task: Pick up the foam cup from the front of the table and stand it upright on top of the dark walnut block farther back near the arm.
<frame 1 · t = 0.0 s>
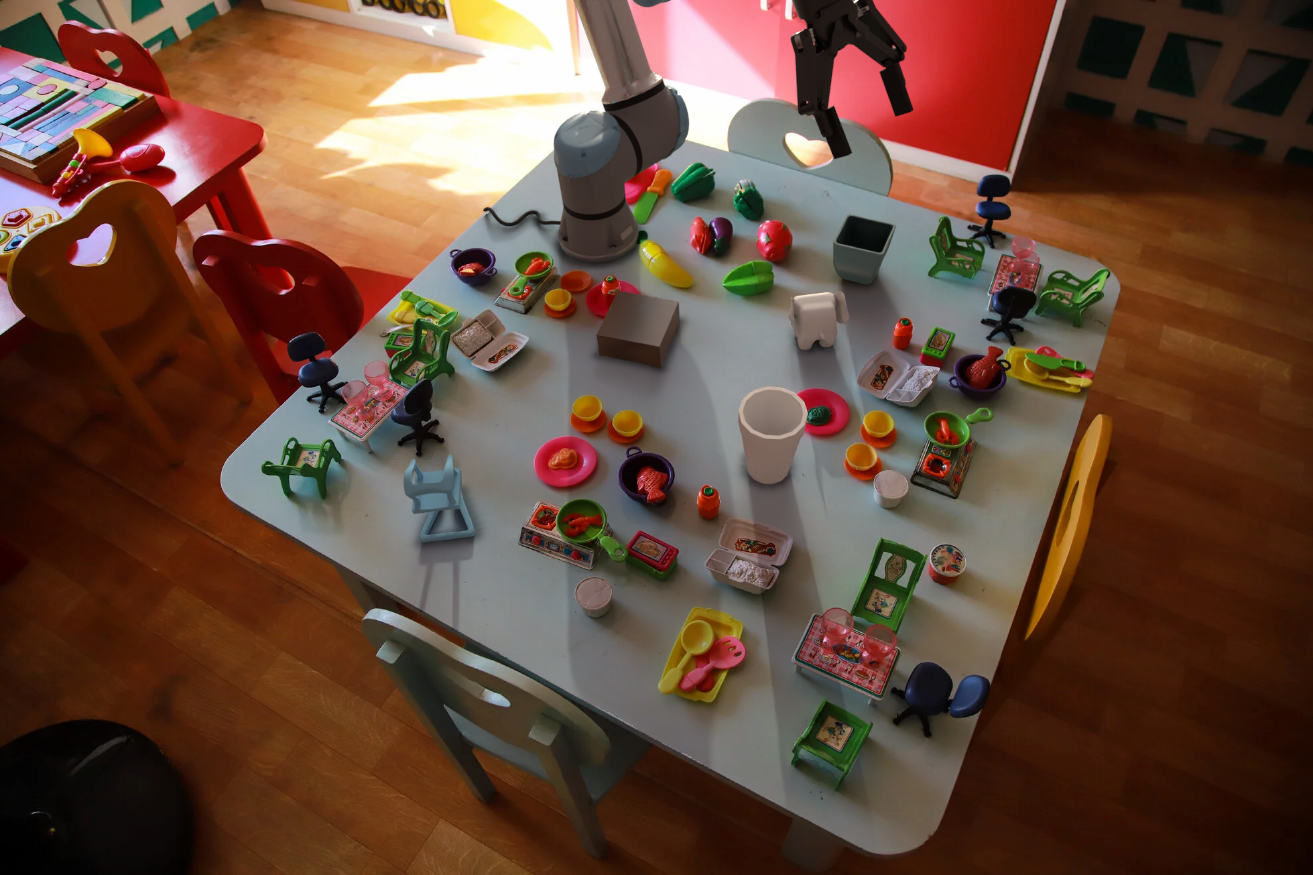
hand: (874, 134, 112), 36 cm above the table, tool tilted 35°, fingers open, 13 cm apart
foam cup: (767, 467, 123), on the table
elephant figurine: (811, 334, 140), on the table
flower pot: (857, 274, 148), on the table
block: (640, 338, 141), on the table
chair: (449, 516, 121), on the table
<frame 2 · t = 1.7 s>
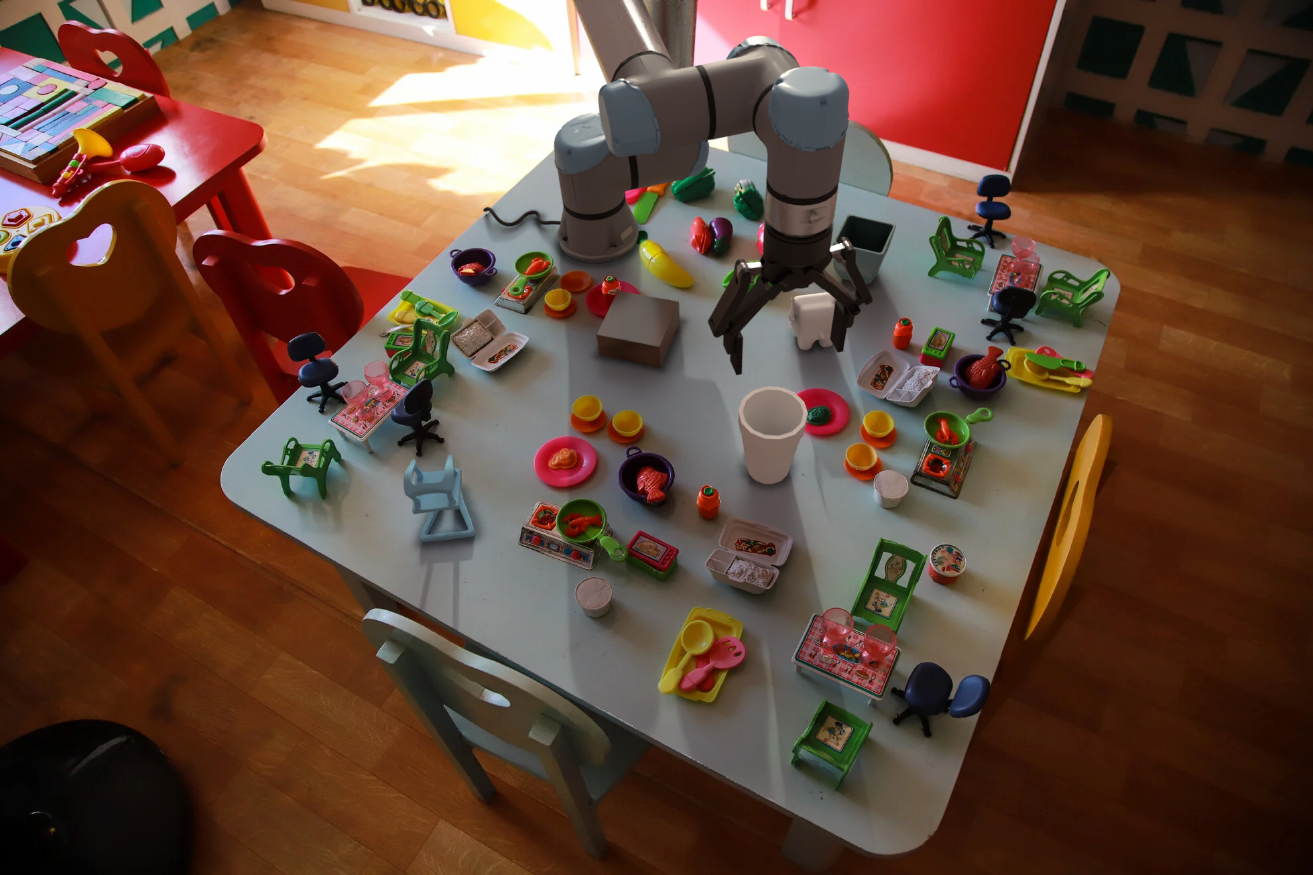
hand: (786, 356, 106), 23 cm above the table, tool pointing down, fingers open, 13 cm apart
nothing on the table moved.
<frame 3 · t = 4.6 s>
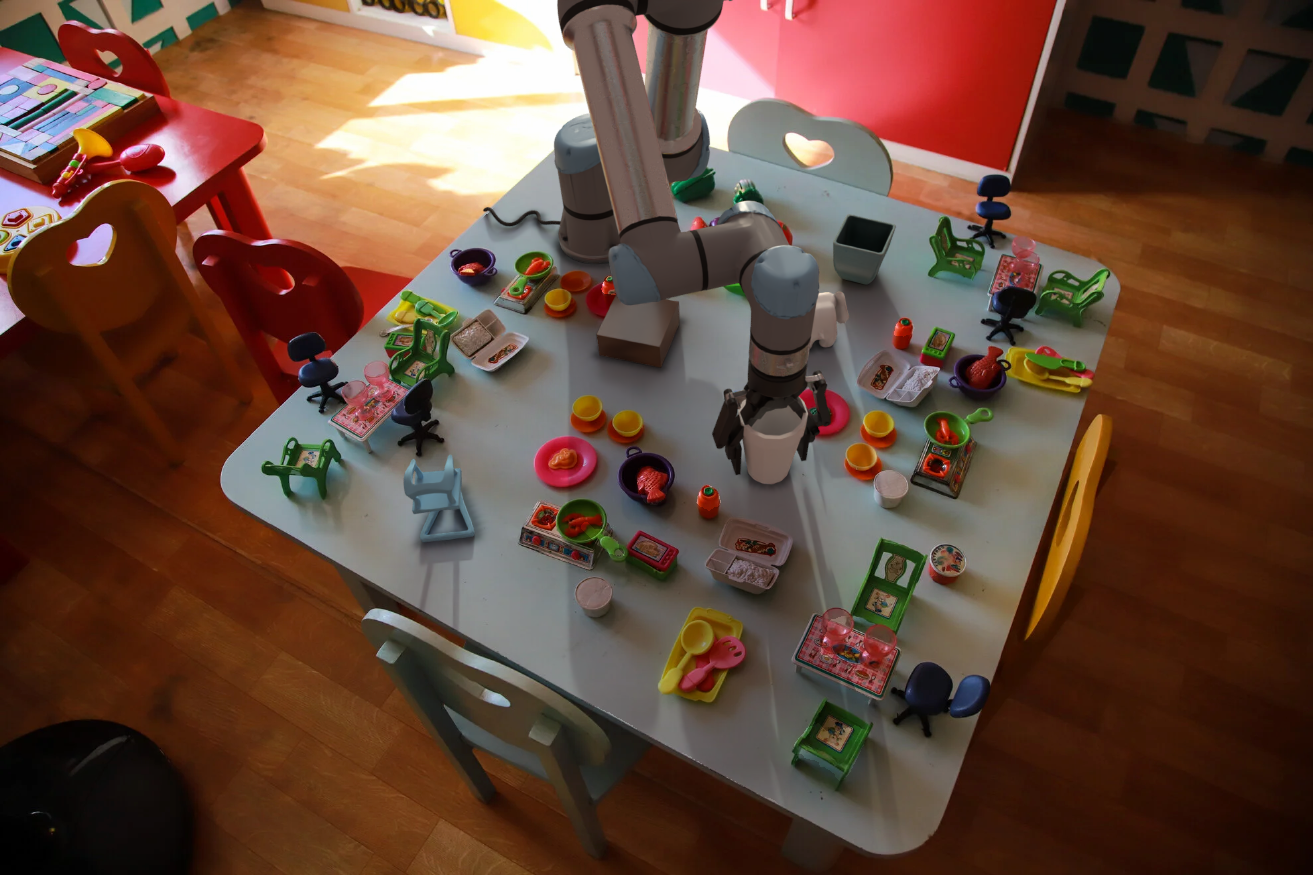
hand: (768, 460, 122), 2 cm above the table, tool pointing down, fingers closed on foam cup, 9 cm apart
foam cup: (767, 467, 123), on the table, touching gripper
everything else where it was.
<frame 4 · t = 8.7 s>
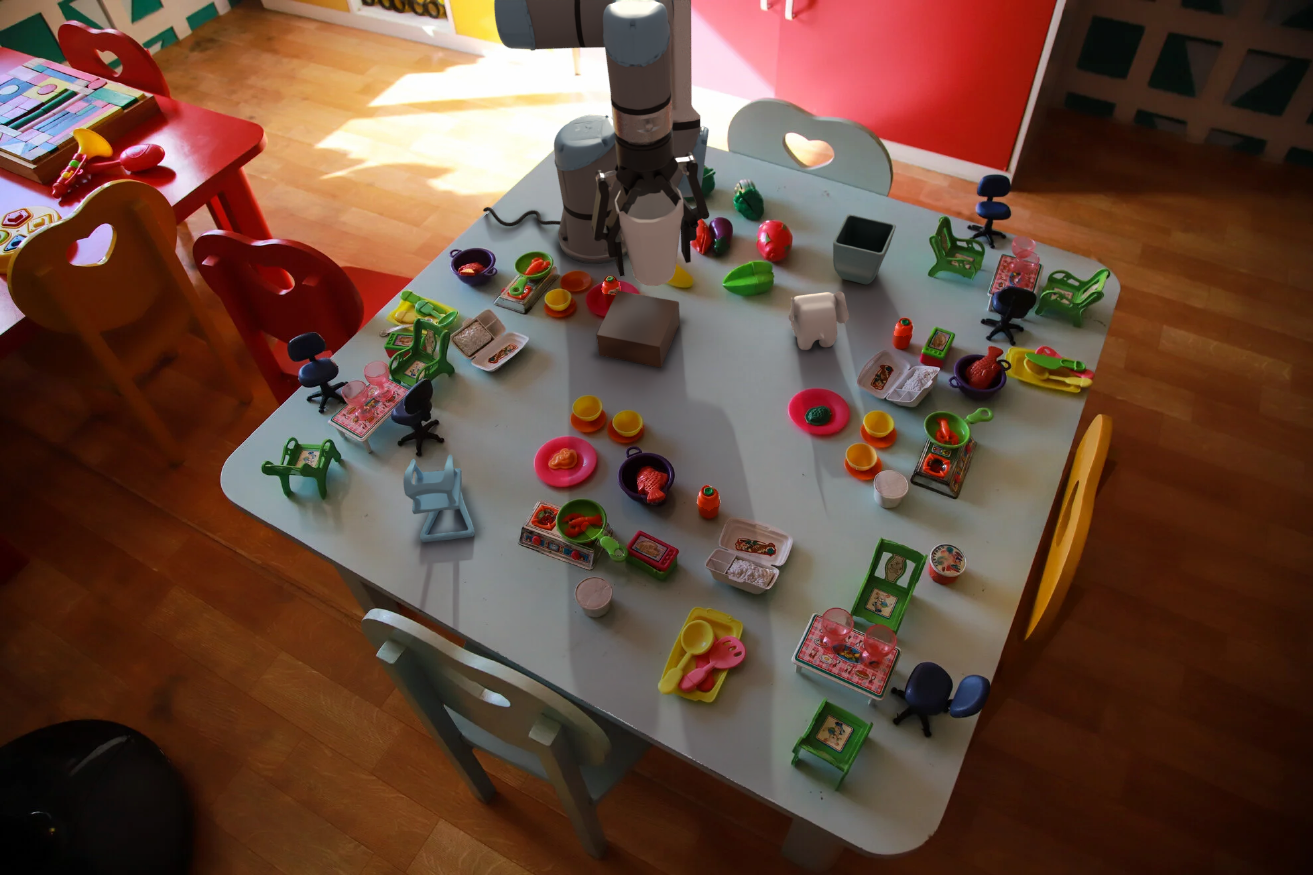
hand: (653, 263, 122), 20 cm above the table, tool pointing down, fingers closed on foam cup, 9 cm apart
foam cup: (654, 272, 124), point 18 cm above the table, touching gripper
everything else where it was.
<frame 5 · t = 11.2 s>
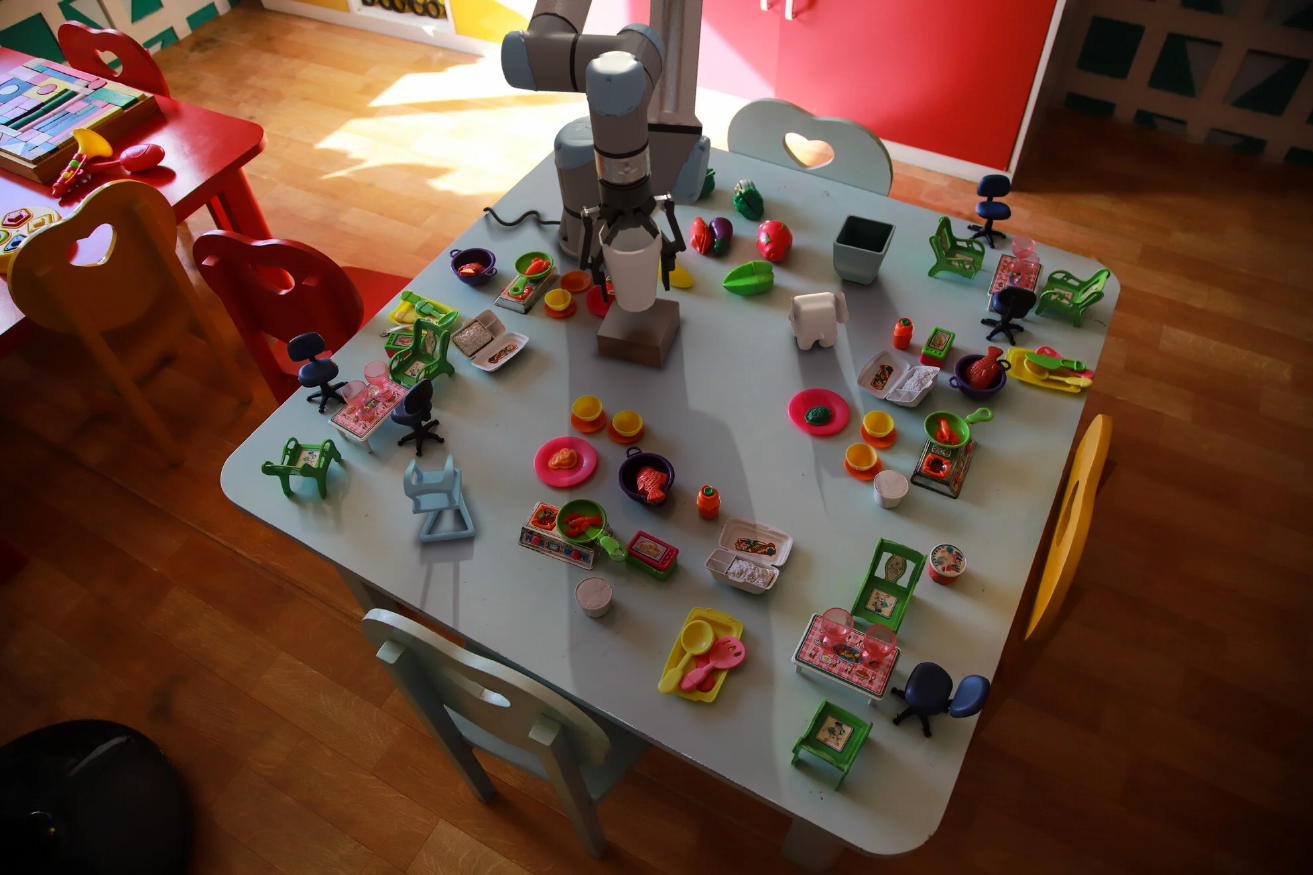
hand: (635, 291, 132), 11 cm above the table, tool pointing down, fingers closed on foam cup, 9 cm apart
foam cup: (636, 299, 133), point 9 cm above the table, touching gripper
everything else where it was.
when the fingers open (6 cm above the table, at t = 12.9 s): foam cup stays where it is, resting on block.
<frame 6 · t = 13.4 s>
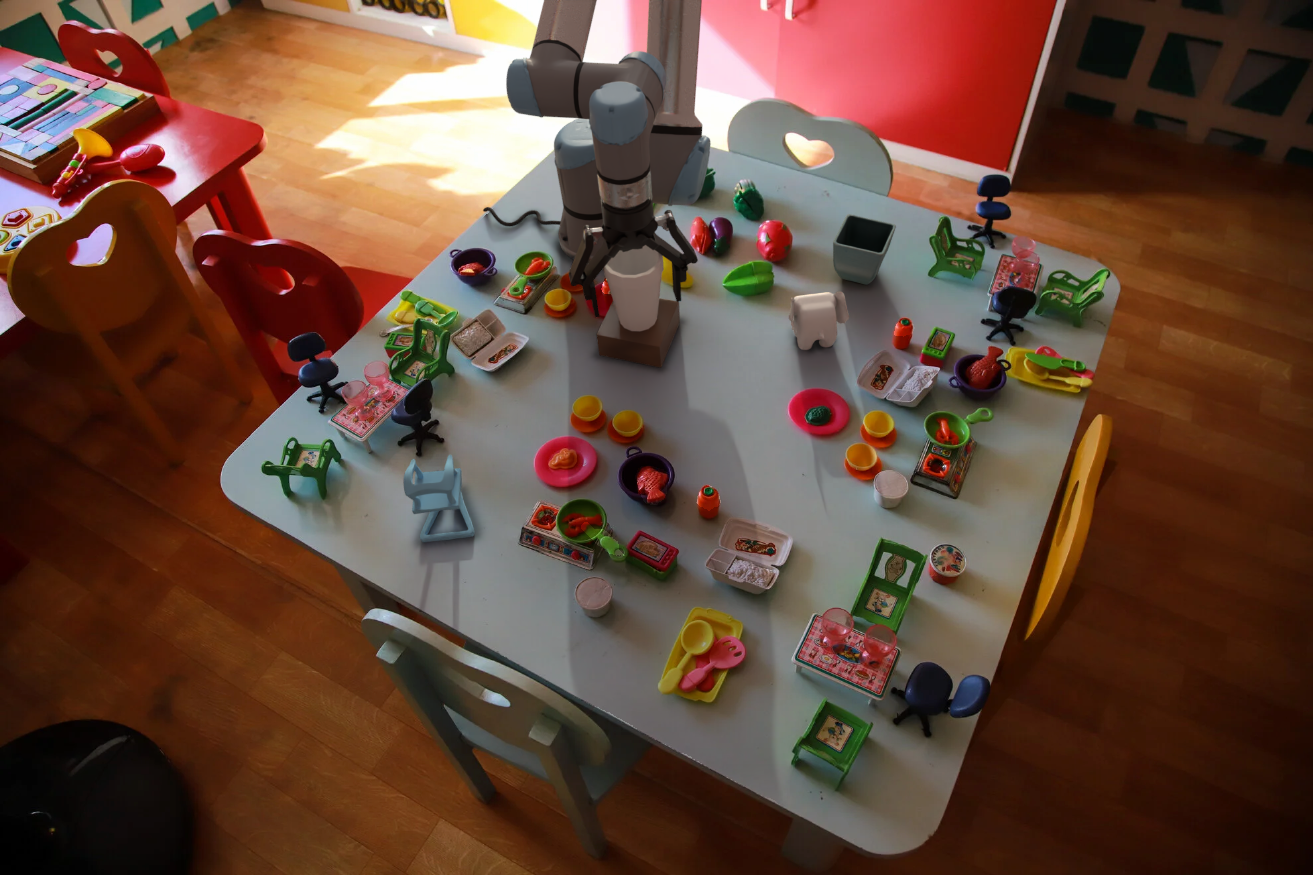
hand: (636, 304, 134), 8 cm above the table, tool pointing down, fingers open, 13 cm apart
foam cup: (638, 318, 137), point 5 cm above the table, touching block
block: (640, 338, 141), on the table, touching foam cup
everything else where it was.
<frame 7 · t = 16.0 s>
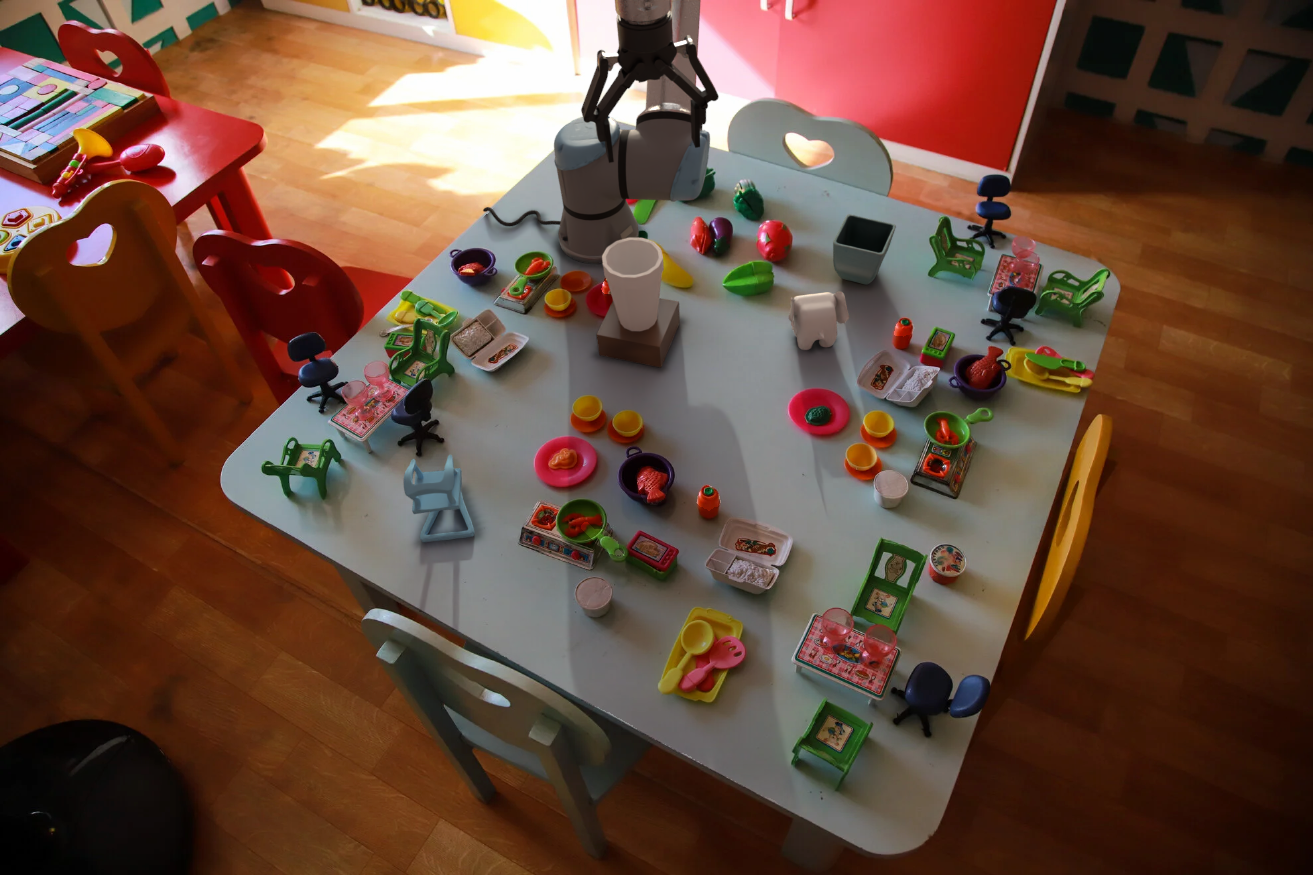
hand: (653, 150, 127), 27 cm above the table, tool pointing down, fingers open, 13 cm apart
nothing on the table moved.
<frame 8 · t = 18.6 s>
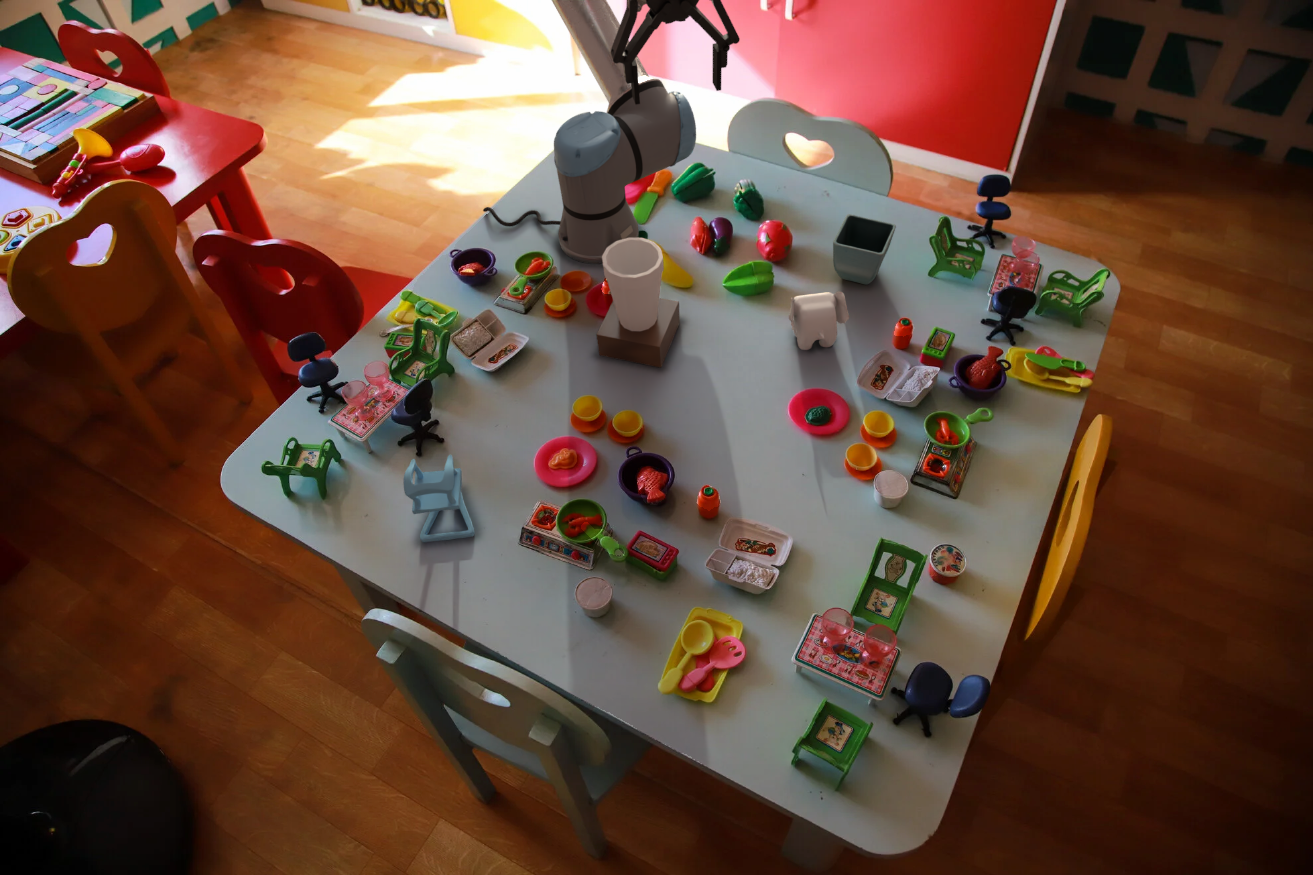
hand: (676, 93, 134), 29 cm above the table, tool pointing down, fingers open, 13 cm apart
nothing on the table moved.
at the end: foam cup 0.0 cm off-centre on the block, point 4.8 cm above the block's base; foam cup tilted 0°; the gripper is holding nothing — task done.
